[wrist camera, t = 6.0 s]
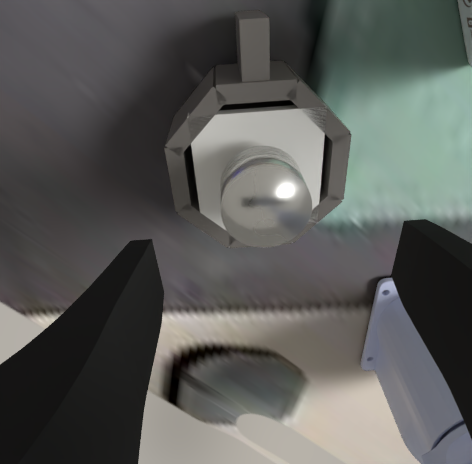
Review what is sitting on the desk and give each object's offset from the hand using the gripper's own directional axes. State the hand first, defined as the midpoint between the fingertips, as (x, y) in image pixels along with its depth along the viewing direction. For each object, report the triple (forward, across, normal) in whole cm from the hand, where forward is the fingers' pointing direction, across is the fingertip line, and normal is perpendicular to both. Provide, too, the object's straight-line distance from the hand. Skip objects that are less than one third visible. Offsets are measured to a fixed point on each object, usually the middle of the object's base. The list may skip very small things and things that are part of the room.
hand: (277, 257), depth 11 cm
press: (+10, 0, 0) cm, 10 cm away
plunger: (+8, 0, 0) cm, 8 cm away
